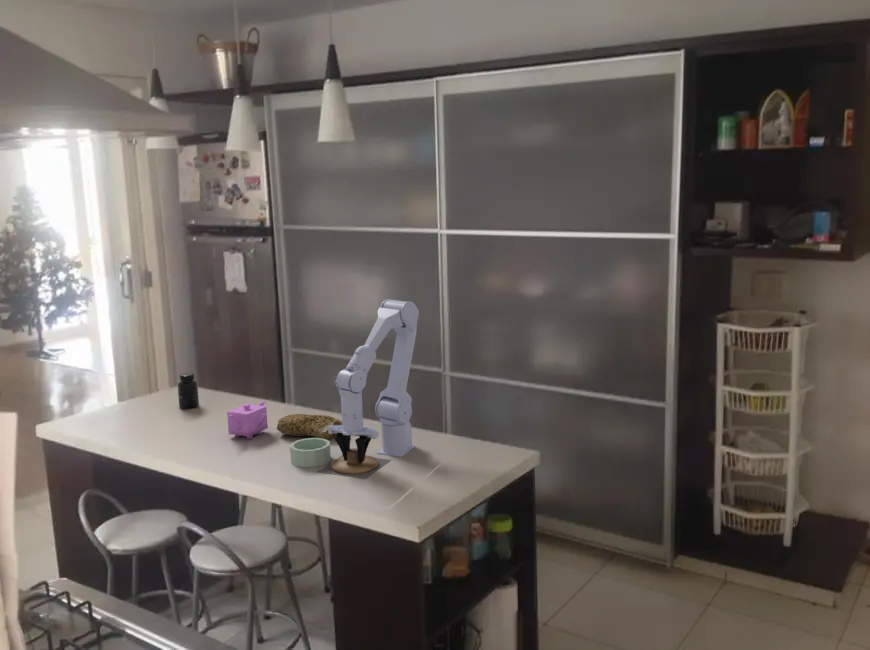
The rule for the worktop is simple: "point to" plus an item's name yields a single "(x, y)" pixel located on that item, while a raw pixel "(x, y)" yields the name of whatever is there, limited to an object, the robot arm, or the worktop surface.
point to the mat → (328, 470)
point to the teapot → (247, 420)
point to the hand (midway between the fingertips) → (354, 460)
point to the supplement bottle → (188, 391)
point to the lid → (354, 463)
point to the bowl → (310, 452)
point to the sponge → (307, 425)
